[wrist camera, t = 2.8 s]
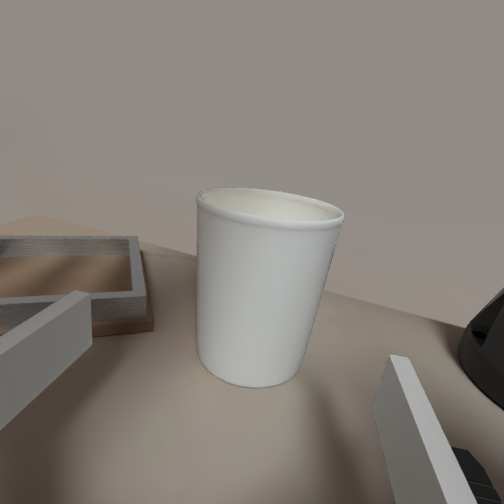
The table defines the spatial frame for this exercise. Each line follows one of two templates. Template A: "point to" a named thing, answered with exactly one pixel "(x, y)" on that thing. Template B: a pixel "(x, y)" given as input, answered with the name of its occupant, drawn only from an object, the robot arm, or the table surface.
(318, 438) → the table surface
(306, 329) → the candle holder
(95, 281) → the walnut plate
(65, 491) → the table surface
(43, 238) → the grey square frame
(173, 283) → the table surface
